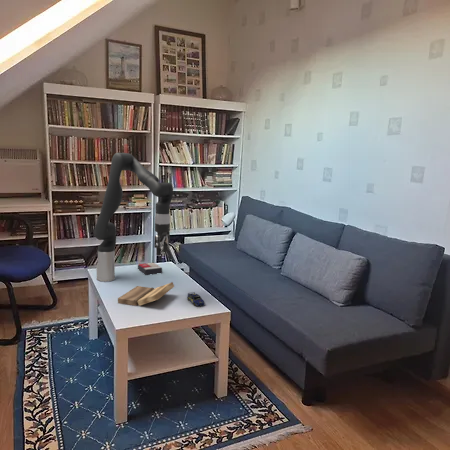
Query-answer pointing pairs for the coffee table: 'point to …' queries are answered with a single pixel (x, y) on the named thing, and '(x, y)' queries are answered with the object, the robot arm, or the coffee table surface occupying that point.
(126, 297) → the floor board
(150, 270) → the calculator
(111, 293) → the coffee table surface
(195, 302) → the race car
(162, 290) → the plank
